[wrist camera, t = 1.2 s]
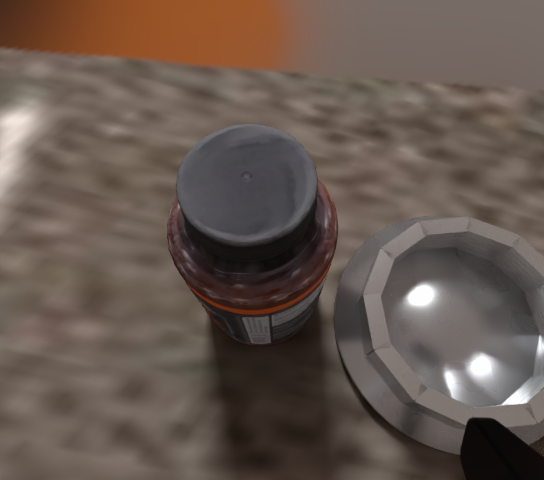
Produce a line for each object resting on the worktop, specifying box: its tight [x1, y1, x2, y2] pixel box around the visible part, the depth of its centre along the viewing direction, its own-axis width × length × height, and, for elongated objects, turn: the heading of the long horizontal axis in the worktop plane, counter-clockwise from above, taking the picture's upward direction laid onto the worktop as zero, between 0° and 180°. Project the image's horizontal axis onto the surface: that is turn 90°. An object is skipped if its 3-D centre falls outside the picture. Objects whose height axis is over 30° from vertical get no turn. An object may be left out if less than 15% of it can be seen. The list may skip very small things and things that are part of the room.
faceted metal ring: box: [334, 216, 544, 455], centre depth 19 cm, size 12×12×2 cm
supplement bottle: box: [167, 124, 338, 346], centre depth 16 cm, size 6×6×11 cm
